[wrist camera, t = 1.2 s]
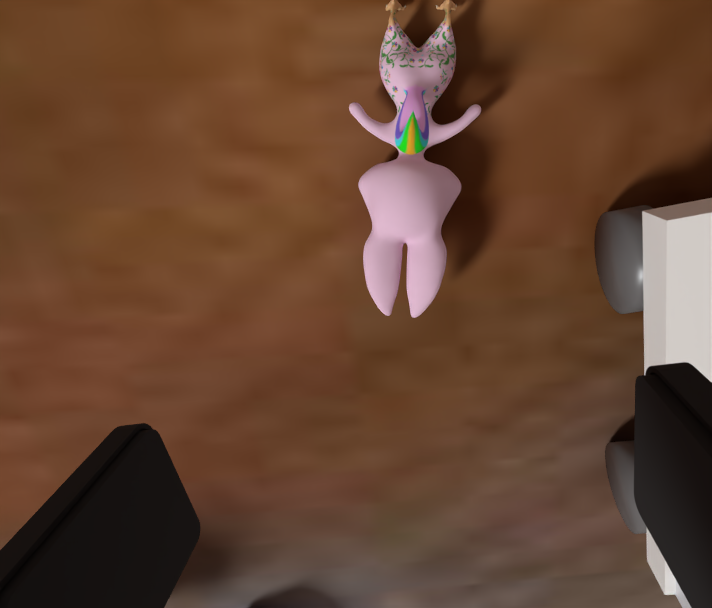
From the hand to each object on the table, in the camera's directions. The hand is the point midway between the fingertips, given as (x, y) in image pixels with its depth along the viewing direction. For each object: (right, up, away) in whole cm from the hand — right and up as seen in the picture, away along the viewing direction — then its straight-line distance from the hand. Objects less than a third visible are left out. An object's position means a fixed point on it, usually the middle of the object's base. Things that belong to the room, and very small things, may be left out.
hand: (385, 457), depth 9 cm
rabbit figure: (+2, +10, +15) cm, 19 cm away
